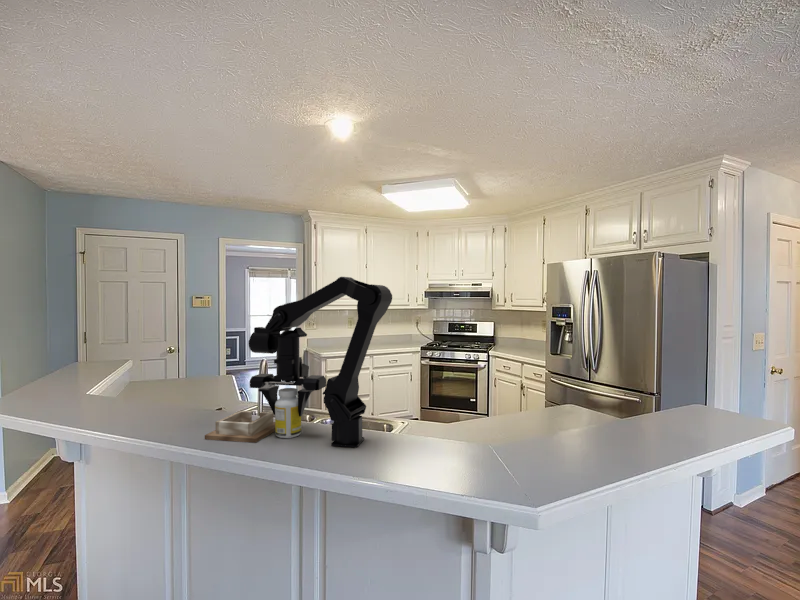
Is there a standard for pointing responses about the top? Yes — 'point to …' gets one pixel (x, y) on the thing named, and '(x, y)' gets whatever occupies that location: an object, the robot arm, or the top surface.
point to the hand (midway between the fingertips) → (288, 415)
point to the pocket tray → (243, 427)
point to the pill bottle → (287, 414)
